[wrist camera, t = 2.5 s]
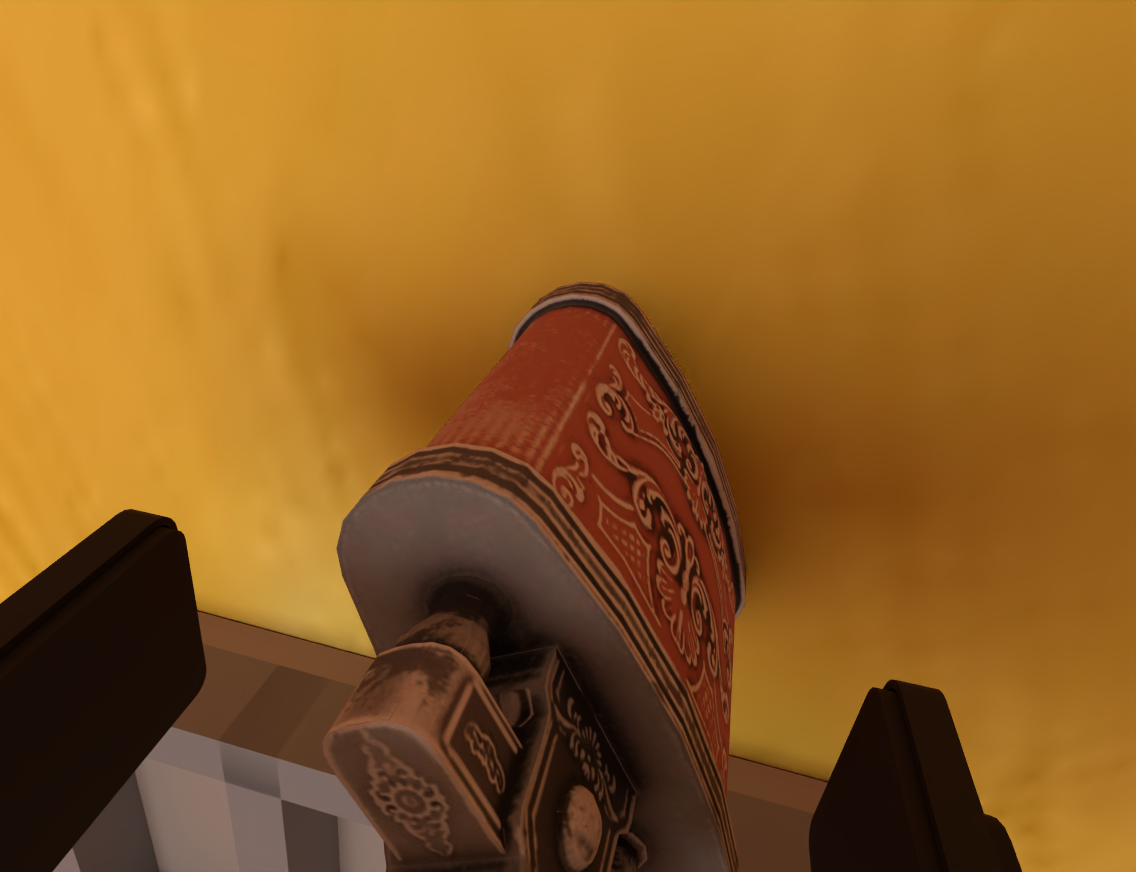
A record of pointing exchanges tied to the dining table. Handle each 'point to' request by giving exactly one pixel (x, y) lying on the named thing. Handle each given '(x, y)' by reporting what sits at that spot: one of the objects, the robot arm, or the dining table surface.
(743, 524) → the dining table surface
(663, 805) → the lighter
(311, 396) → the dining table surface
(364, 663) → the tray
